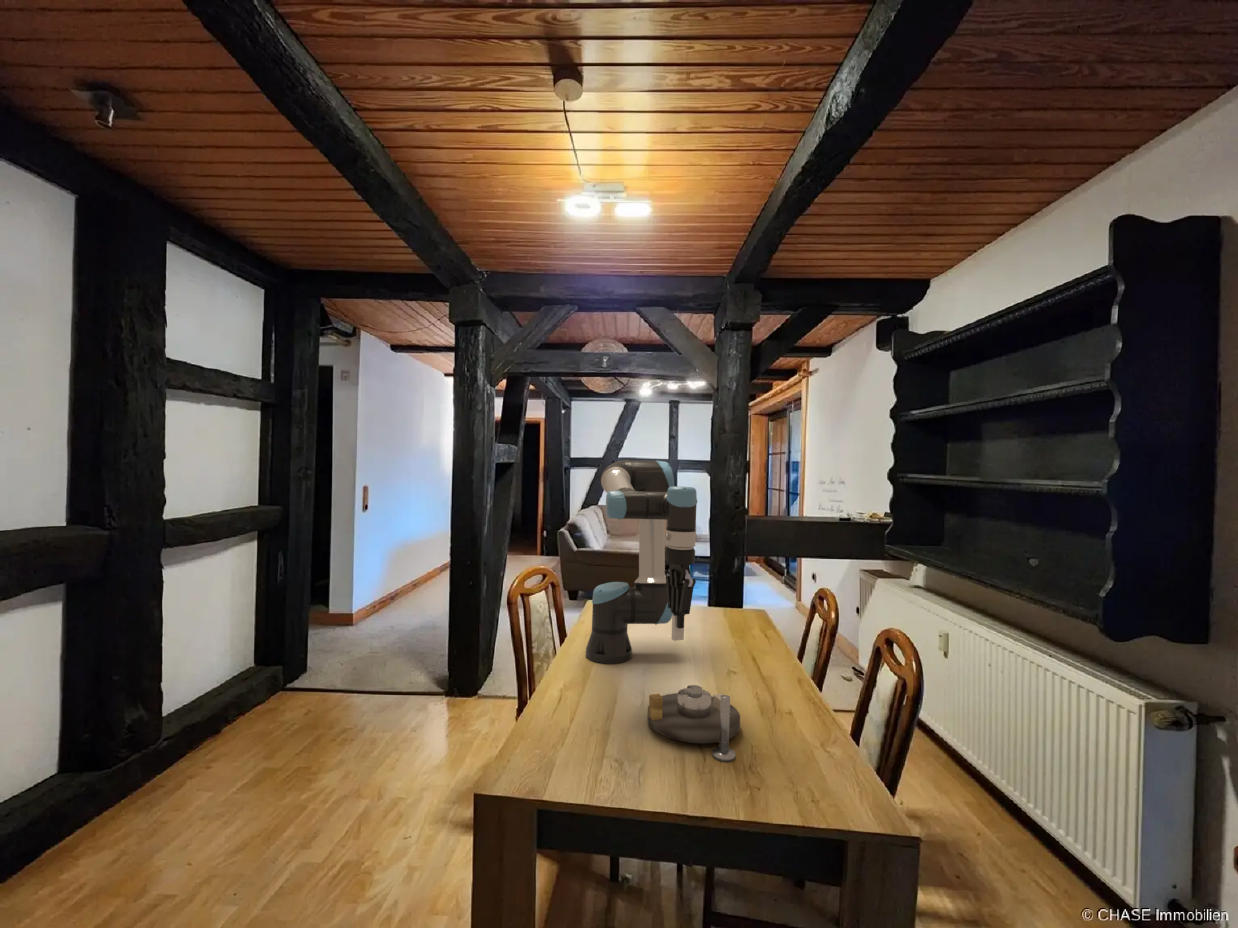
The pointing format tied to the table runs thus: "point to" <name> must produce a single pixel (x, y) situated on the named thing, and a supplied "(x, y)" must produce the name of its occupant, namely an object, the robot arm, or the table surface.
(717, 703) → the dial post
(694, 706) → the cover
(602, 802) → the table surface
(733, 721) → the turntable
